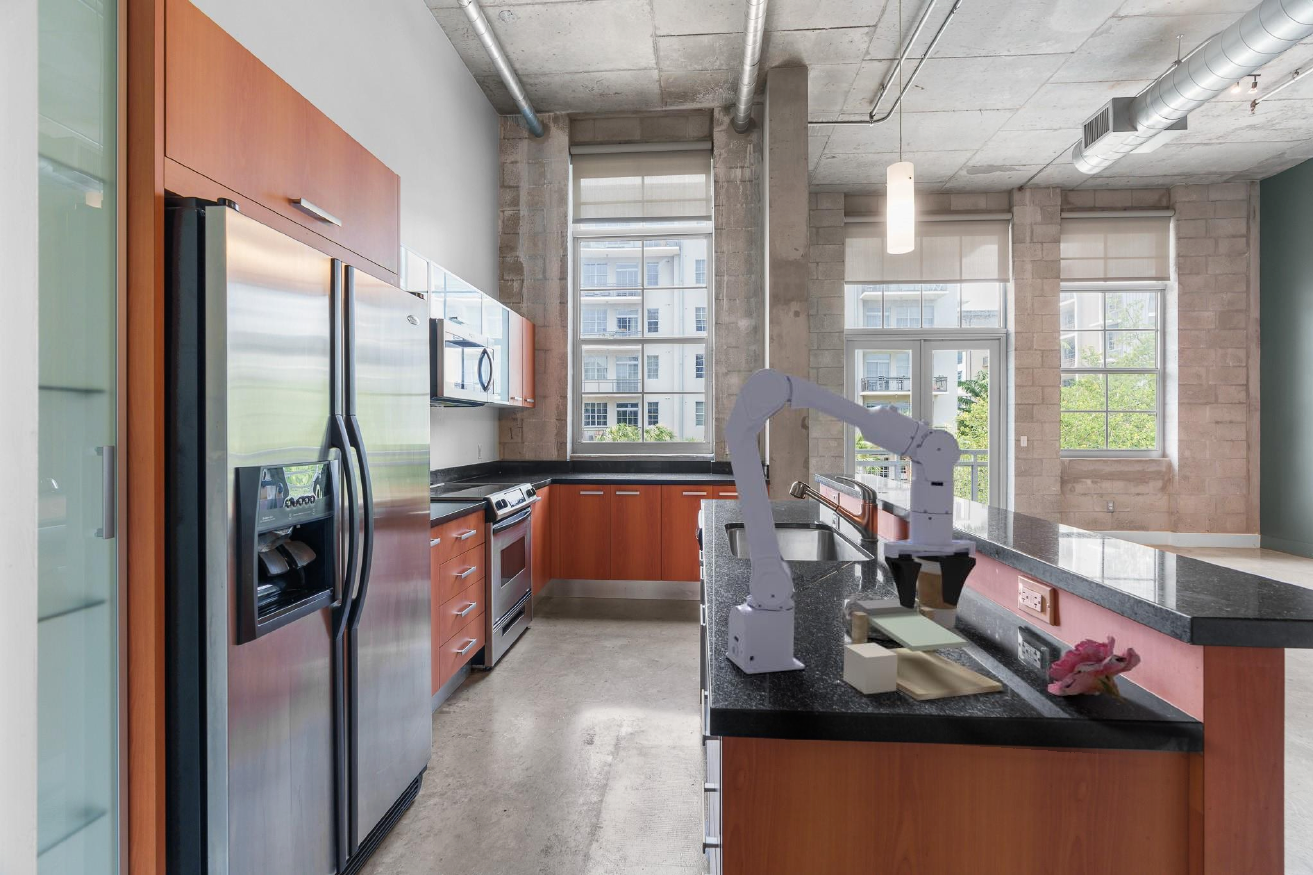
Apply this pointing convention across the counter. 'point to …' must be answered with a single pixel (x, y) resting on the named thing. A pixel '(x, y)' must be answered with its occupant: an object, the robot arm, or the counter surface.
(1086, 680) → the flower
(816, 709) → the counter surface
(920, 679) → the stand
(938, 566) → the coffee cup
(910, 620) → the trapdoor
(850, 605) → the rock
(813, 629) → the counter surface
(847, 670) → the cream cube
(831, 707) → the counter surface
